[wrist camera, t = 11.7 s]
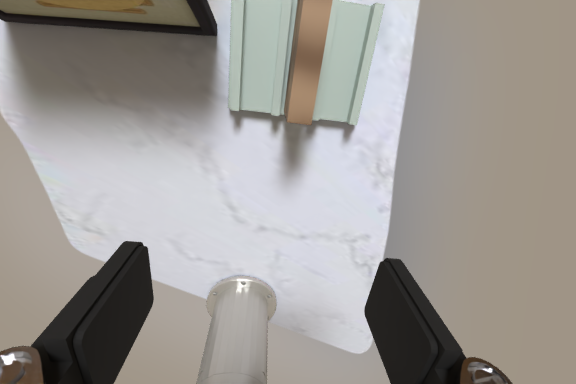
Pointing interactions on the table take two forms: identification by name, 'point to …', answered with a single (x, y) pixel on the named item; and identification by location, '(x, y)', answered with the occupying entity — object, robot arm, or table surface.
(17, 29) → the table surface
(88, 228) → the table surface
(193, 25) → the picture frame
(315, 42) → the long brown rectangular block
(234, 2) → the display rail
